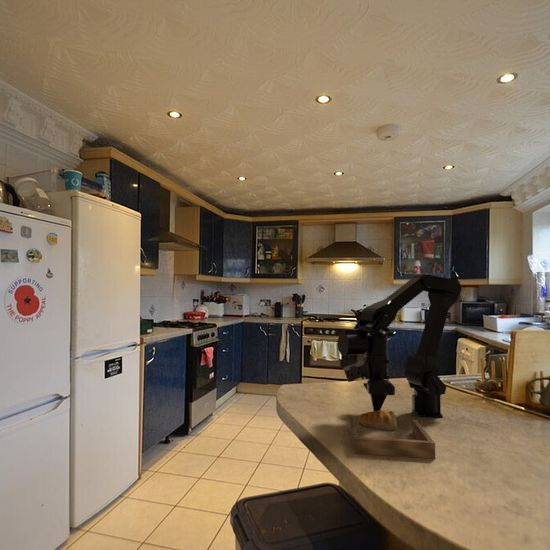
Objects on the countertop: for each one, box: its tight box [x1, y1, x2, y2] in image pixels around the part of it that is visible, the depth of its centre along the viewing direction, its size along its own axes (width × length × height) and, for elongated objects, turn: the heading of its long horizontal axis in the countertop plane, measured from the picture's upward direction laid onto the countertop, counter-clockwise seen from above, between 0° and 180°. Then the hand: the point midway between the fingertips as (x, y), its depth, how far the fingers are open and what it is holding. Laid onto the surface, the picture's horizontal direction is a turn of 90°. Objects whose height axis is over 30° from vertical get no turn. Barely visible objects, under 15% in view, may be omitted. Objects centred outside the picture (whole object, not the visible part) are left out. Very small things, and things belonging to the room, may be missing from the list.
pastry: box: [357, 409, 398, 431], centre depth 91 cm, size 9×7×4 cm
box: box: [348, 416, 436, 459], centre depth 79 cm, size 16×14×3 cm
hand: (376, 413), depth 94 cm, fingers closed
